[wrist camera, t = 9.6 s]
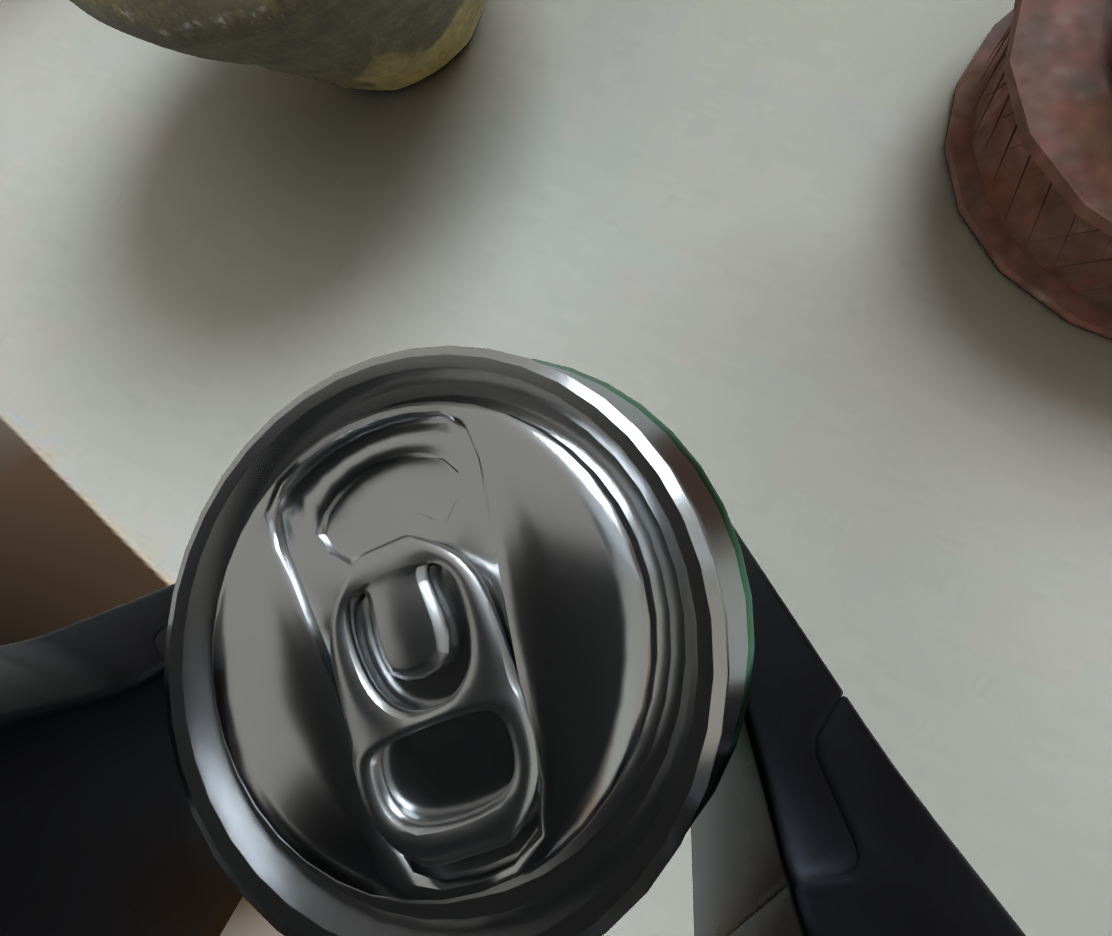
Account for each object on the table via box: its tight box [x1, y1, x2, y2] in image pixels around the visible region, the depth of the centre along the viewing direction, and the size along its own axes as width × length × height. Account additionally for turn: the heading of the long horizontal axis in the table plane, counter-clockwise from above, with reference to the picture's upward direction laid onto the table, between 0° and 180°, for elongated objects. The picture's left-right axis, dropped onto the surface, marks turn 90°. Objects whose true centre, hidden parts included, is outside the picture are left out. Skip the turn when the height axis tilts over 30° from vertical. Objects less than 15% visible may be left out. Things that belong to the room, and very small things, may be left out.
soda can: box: [164, 346, 755, 936], centre depth 9 cm, size 5×5×12 cm
